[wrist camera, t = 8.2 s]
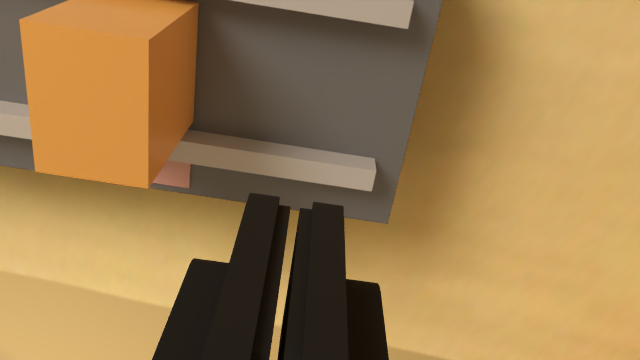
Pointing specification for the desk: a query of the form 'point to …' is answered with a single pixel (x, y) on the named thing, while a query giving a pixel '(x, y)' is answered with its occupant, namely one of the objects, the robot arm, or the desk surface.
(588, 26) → the desk surface
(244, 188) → the grey railed slider base
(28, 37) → the block
